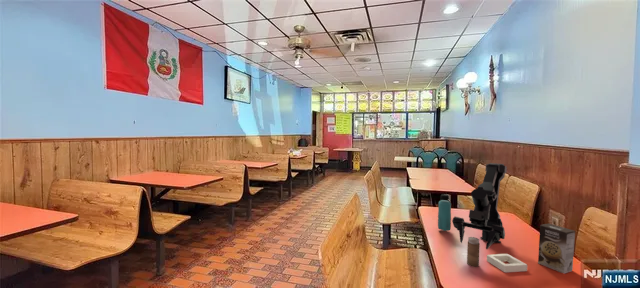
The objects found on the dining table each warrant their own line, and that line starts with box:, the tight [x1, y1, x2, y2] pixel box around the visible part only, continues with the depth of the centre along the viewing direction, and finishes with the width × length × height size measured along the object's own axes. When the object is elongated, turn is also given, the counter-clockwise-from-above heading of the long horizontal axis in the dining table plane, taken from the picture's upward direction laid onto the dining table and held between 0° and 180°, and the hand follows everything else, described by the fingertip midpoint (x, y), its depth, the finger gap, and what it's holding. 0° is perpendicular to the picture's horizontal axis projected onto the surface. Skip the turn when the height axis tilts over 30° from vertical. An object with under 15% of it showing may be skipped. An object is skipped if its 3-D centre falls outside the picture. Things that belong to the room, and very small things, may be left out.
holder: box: [486, 253, 528, 273], centre depth 109 cm, size 10×10×2 cm
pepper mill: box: [466, 236, 481, 268], centre depth 109 cm, size 4×4×10 cm
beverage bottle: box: [437, 193, 452, 232], centre depth 145 cm, size 6×7×20 cm
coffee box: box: [537, 223, 576, 274], centre depth 107 cm, size 9×6×16 cm
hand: (473, 245), depth 109 cm, fingers open, 9 cm apart
